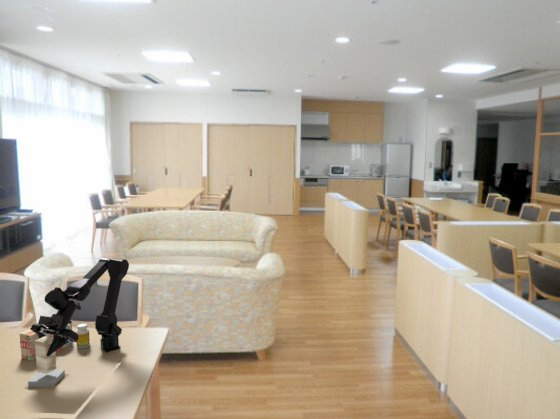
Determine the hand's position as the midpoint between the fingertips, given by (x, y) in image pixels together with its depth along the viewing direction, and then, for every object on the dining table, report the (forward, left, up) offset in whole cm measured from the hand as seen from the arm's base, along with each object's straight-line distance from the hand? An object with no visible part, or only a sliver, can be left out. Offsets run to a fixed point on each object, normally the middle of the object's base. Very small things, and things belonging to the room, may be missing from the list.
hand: (42, 354), depth 172 cm
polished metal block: (-1, -1, -7) cm, 7 cm away
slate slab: (-1, -1, -11) cm, 11 cm away
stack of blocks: (-10, -30, -12) cm, 34 cm away
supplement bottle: (-23, -26, -12) cm, 37 cm away
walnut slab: (-1, -1, -13) cm, 13 cm away
